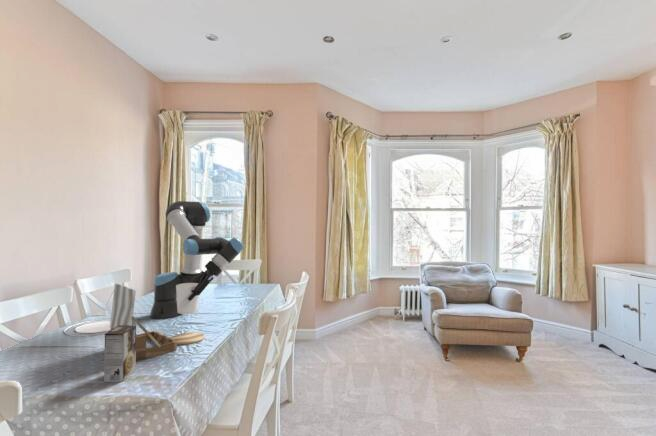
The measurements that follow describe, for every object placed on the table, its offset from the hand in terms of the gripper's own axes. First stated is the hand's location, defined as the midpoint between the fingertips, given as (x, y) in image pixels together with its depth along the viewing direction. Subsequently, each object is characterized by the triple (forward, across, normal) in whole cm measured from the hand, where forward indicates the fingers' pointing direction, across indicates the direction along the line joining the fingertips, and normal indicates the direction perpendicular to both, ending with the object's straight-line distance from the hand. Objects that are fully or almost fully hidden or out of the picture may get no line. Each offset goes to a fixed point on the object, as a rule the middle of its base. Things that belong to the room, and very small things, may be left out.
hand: (180, 303), depth 154 cm
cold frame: (+22, -4, -1) cm, 22 cm away
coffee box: (+29, -27, +5) cm, 40 cm away
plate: (+33, +41, +9) cm, 54 cm away
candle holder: (+1, 0, -5) cm, 5 cm away
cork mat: (+10, 0, -14) cm, 17 cm away
